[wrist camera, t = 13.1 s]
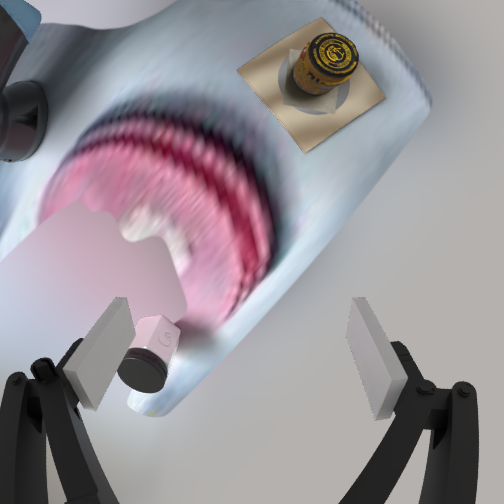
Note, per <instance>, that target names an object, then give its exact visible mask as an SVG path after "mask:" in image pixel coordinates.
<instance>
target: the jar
mask: <svg viewBox="0 0 504 504" xmlns="http://www.w3.org/2000/svg"><path fill="white" fill-rule="evenodd" d="M135 332H136V336H135V338H134V340H133V341H132V343H131V345H130V347H129V349H128V350H127V352H126V354H125V356H124V358H123V360H122V362H121V364H120V365H119V367H118V369H117V372H118V375H119V377H120V378H121V380H122V381H123V382H124V383H125V384H126V385H128V386H129V387H131V388H132V389H134V390H137V391H139V392H143V393H156V392H158V391H160V390H161V389H162V388H163V387H164V384H165V381H166V380H167V377H168V374H169V371H170V368H171V365H172V362H173V359H174V356H175V354H176V351H177V348H178V343H179V338H180V334H181V330H180V329H179V328H178V327H176V326H175V325H174V324H173V323H172V322H171V321H169V320H168V319H167V318H166V317H165V316H164V315H155V316H148V317H142V318H141V319H140V320H139V322H138V323H137V325H136V327H135Z"/></svg>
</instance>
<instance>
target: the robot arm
mask: <svg viewBox="0 0 504 504" xmlns="http://www.w3.org/2000/svg"><path fill="white" fill-rule="evenodd" d="M40 22H41V13H40V11H38V10H37V9H36V8H34V7H33V6H32V5H30V4H29V3H27V2H26V1H24V0H0V160H2V161H5V162H18V161H22V160H25V159H27V158H28V157H30V156H31V155H32V154H33V153H34V152H35V151H36V149H37V148H38V146H39V144H40V143H41V140H42V138H43V136H44V133H45V129H46V125H47V117H48V107H47V100H46V97H45V94H44V92H43V90H42V89H41V88H40V86H38V85H37V84H36V83H33V82H26V81H20V82H16V83H13V84H11V85H9V86H7V87H5V85H6V83H7V81H8V79H9V77H10V75H11V73H12V71H13V69H14V67H15V65H16V64H17V62H18V60H19V58H20V56H21V55H22V53H23V51H24V49H25V48H26V46H27V44H29V43H30V42H31V38H32V36H33V34H34V33H35V31H36V29H37V28H38V26H39V24H40ZM135 336H136V332H135V328H134V325H133V321H132V317H131V313H130V309H129V305H128V301H127V298H124V297H116V298H115V299H114V300H113V301H112V303H111V304H110V305H109V306H108V308H107V309H106V310H105V312H104V313H103V314H102V316H101V317H100V318H99V319H98V321H97V322H96V323H95V325H94V326H93V327H92V329H91V330H90V331H89V333H88V334H87V336H86V337H85V338H84V339H83V338H80V339H78V340H77V341H75V342H74V343H73V344H72V346H71V347H70V348H69V350H68V351H67V352H66V355H64V356H63V358H62V359H61V361H60V362H59V363H58V365H57V366H56V367H55V366H54V363H53V362H52V360H51V359H50V358H40V359H38V360H36V361H35V362H34V363H33V364H32V365H31V369H30V370H31V372H32V374H33V376H34V377H35V379H28V378H27V377H26V375H25V374H24V373H23V372H15V373H13V374H11V375H10V376H9V377H8V379H7V382H6V385H5V389H4V394H3V398H2V403H1V407H0V504H48V492H47V476H46V432H47V437H48V441H49V445H50V448H51V452H52V456H53V459H54V462H55V466H56V469H57V472H58V475H59V479H60V481H61V484H62V487H63V490H64V493H65V495H66V498H67V502H65V503H64V504H119V502H118V500H117V498H116V496H115V494H114V493H113V490H112V489H111V487H110V485H109V482H108V480H107V478H106V476H105V474H104V472H103V470H102V468H101V465H100V463H99V461H98V459H97V456H96V454H95V452H94V449H93V447H92V444H91V442H90V439H89V437H88V434H87V432H86V429H85V426H84V424H83V420H82V418H81V415H80V412H79V409H78V408H77V404H78V402H79V401H80V403H81V404H82V406H83V408H85V409H89V410H93V411H96V410H97V408H98V406H99V404H100V402H101V400H102V398H103V396H104V394H105V392H106V390H107V389H108V387H109V385H110V383H111V381H112V379H113V377H114V375H115V373H116V371H117V369H118V367H119V365H120V364H121V362H122V360H123V358H124V356H125V354H126V352H127V350H128V349H129V347H130V345H131V343H132V341H133V340H134V338H135ZM346 338H347V341H348V343H349V346H350V349H351V352H352V354H353V357H354V360H355V363H356V365H357V368H358V371H359V374H360V377H361V380H362V382H363V386H364V389H365V392H366V395H367V397H368V400H369V404H370V407H371V410H372V413H373V416H374V419H375V420H382V419H388V418H390V417H391V415H392V412H393V411H394V412H395V415H396V416H395V418H394V420H393V422H392V424H391V426H390V427H389V429H388V431H387V433H386V434H385V436H384V438H383V440H382V441H381V443H380V445H379V446H378V448H377V449H376V451H375V453H374V454H373V456H372V457H371V459H370V460H369V462H368V463H367V465H366V467H365V468H364V469H363V471H362V472H361V474H360V475H359V477H358V478H357V479H356V481H355V482H354V484H353V485H352V486H351V488H350V489H349V491H348V492H347V493H346V495H345V496H344V497H343V499H342V500H341V501H340V502H339V504H384V503H385V501H386V500H387V498H388V497H389V495H390V493H391V491H392V490H393V488H394V486H395V485H396V483H397V481H398V479H399V478H400V476H401V474H402V472H403V470H404V468H405V466H406V464H407V463H408V460H409V459H410V457H411V454H412V453H413V450H414V448H415V446H416V444H417V442H418V440H419V438H420V435H421V433H422V431H423V429H429V430H431V436H430V444H429V452H428V458H427V465H426V471H425V476H424V482H423V486H422V491H421V496H420V500H419V504H475V501H476V491H477V480H478V462H479V426H478V406H477V393H476V390H475V388H474V387H473V385H471V384H470V383H468V382H464V381H462V382H457V383H455V385H454V386H453V388H452V389H440V388H436V386H435V385H434V383H433V382H431V381H429V380H425V379H424V378H423V376H422V374H421V373H420V371H419V369H418V367H417V365H416V363H415V362H414V361H413V358H412V356H411V355H410V353H409V351H408V349H407V348H406V346H404V345H403V344H402V343H401V342H399V341H397V342H396V341H395V342H389V340H388V338H387V336H386V334H385V332H384V331H383V329H382V327H381V325H380V323H379V321H378V320H377V318H376V316H375V314H374V312H373V311H372V309H371V307H370V305H369V304H368V302H367V300H366V298H365V297H359V298H352V304H351V310H350V316H349V323H348V328H347V333H346Z"/></svg>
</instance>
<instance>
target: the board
mask: <svg viewBox="0 0 504 504" xmlns="http://www.w3.org/2000/svg"><path fill="white" fill-rule="evenodd" d="M329 32H333V33H335V31H334V30H333V29H332V28H331V27H330V26H329V25H328V24H327V23H326V21H325V20H324V19H323V18H322V17H320V18H319V19H317V20H315V21H313V22H311V23H309V24H308V25H306V26H304V27H302V28H301V29H299V30H297V31H296V32H294V33H292V34H291V35H289V36H287V37H286V38H284V39H282V40H281V41H279V42H278V43H276V44H274V45H273V46H271V47H270V48H268V49H267V50H265V51H264V52H262V53H261V54H259V55H258V56H256V57H255V58H253V59H252V60H250V61H249V62H248V63H246V64H245V65H243V66H242V67H241V68H239V69H238V70H237V72H238V73H239V74H240V75H241V77H242V78H243V79H244V80H245V81H246V82H247V83H248V84H249V86H250V87H251V88H252V89H253V90H254V91H255V93H256V94H257V95H258V96H259V97H260V98H261V100H262V101H263V102H264V103H265V104H266V106H267V107H268V108H269V109H270V110H271V112H272V113H273V114H274V115H275V117H276V118H277V119H278V120H279V122H280V123H281V124H282V125H283V127H284V128H285V129H286V130H287V132H288V133H289V134H290V136H291V137H292V138H293V139H294V141H295V142H296V143H297V145H298V146H299V147H300V149H301V150H302V151H303V153H306V152H308V151H309V150H310V149H312V148H313V147H315V146H316V145H317V144H319V143H320V142H322V141H323V140H325V139H326V138H327V137H329V136H330V135H332V134H333V133H334V132H336V131H337V130H339V129H340V128H342V127H343V126H345V125H346V124H347V123H349V122H350V121H352V120H353V119H355V118H356V117H358V116H359V115H361V114H362V113H364V112H365V111H367V110H368V109H370V108H371V107H373V106H374V105H376V104H377V103H379V102H380V101H382V100H383V99H385V96H384V95H383V93H382V92H381V90H380V89H379V88H378V86H377V85H376V83H375V82H374V80H373V79H372V78H371V76H370V75H369V74H368V72H367V71H366V70H365V68H364V67H363V66H362V64H361V63H360V62H359V60H358V65H357V68H356V69H355V71H354V72H353V73H352V75H351V77H350V78H349V79H348V80H347V81H345V82H344V83H342V84H340V85H339V86H338V95H337V102H336V110H335V114H331V113H326V112H321V111H316V110H311V109H305V108H300V107H294V106H289V105H283V104H282V103H283V96H284V88H285V81H286V74H287V66H288V59H289V52H290V49H295V50H301V51H302V50H303V48H304V46H305V45H306V44H307V43H308V42H309V41H311V40H313V39H314V38H315V37H316V36H318V35H320V34H323V33H329Z"/></svg>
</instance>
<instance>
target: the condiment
mask: <svg viewBox="0 0 504 504" xmlns="http://www.w3.org/2000/svg"><path fill="white" fill-rule="evenodd" d="M358 60H359V55H358V52H357V50H356V46H355V45H354V44H353V42H352V41H350V40H349V39H348V38H346V37H345V36H343V35H340V34H337V33H333V32H329V33H323V34H320V35H318V36H316V37H315V38H314V39H313V40H311V41H309V42H308V43H307V44H306V45H305V46H304V48H303V50H302V51H301V50H295V49H290V52H289V59H288V66H287V74H286V81H285V88H284V96H283V103H282V104H283V105H289V106H294V107H300V108H305V109H311V110H316V111H321V112H326V113H331V114H335V110H336V102H337V95H338V86H339V85H340V84H342V83H344V82H345V81H347V80H348V79H349V78H350V77H351V75H352V73H353V72H354V71H355V69H356V68H357V65H358Z"/></svg>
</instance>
